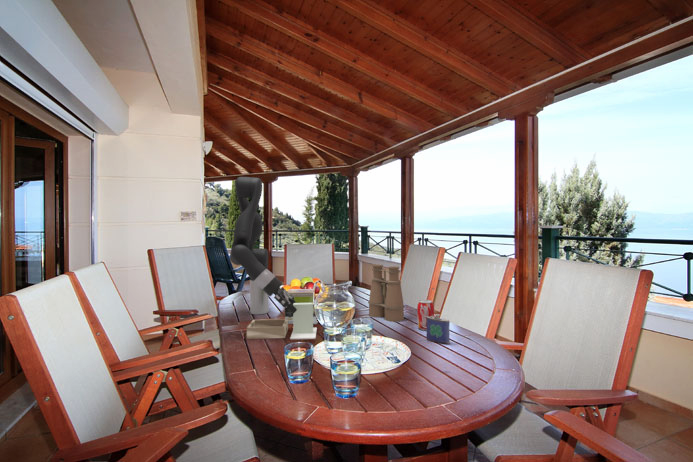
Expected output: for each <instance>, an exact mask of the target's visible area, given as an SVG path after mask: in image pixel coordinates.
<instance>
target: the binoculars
mask: <svg viewBox="0 0 693 462" xmlns="http://www.w3.org/2000/svg"><path fill="white" fill-rule="evenodd" d="M372 267H373V269H372V273H373V275H372V278H371V279H370V281H371V284H370V291H369V299H368V300H369V301H368V302H367V303H368V311H369V312H368V316H370V317H373V318H384V320H385V321H387V322H392V323H397V322H402V321H404V320H405V314H404V313H405V305H404V298H403V292H402V291H403V290H402V285H401V284H402V282H401V280H400V279H399V276H400V275H399V274H400V270H399V269H400V266H398V265H397V266H395V265H390V266H388V267H387V268H388V270H387V269H385V268H384V269H383V267H384V264H372ZM387 272H388V280H387V279H386V277H387Z"/></svg>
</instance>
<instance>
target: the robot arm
mask: <svg viewBox="0 0 693 462" xmlns="http://www.w3.org/2000/svg"><path fill="white" fill-rule="evenodd" d="M262 193H263V183H262V180H261V178H259V177H252V176H250V177H249V176H239V177H237V178H236V180H235V194H236V197H237V200H238V201H237V202H238V206H239V210H240V214H239V216H238V218H237V220H236V221H235V222H236V223H235V226H234V234H233V239H232V245H231V248H230V253H229V258H230V261H231V263H232V264H234V265H236V266H241V267H242V268H243V269H244V271H245V273H246V275H247V276H248V277H249V309H250V311H249V312H250V315H266V314H268V313H269V310H270V309H269V297H272V296H273V295H274V297H273V298H274V299H275V300H276V301H277V302H278V303H279V304H280V305H281V306H282V307H283V308H284V309H285V307H286V308H288V309H289V310H290V311H291V312H292V313H295V312H296V311H297V309H296V308H295V307H294V306H293V304H294V303H297V302H296V301H294V300H293V298H292V295H290V294H289V293H288V292H287V291H288V290H286V289H285V288H284V287H281V286H282V285H283V282H282V281H281V280H280V279H279V278H278V277H277V276H276V275H274V273H273V272H272V271H270V270H269V251H268V249H267V248H254V244H255V243H256V241H258V239H259V238H260V236H261V235H262V233H263V223H262V222H263V221H262V217H261V215H260V214H259V213H258V212H257V211H258V207H259V205H260V200H261V197H262ZM249 199H251V200H250V201H249Z"/></svg>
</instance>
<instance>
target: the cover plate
mask: <svg viewBox="0 0 693 462" xmlns="http://www.w3.org/2000/svg"><path fill="white" fill-rule="evenodd" d="M293 306H294V307H295V308H296V309H297V311H296V312H295V313H293V324H292V325H293V329H292V332H294V334H297V333H313V328H314V324H313V303H294V304H293Z"/></svg>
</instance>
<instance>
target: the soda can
mask: <svg viewBox="0 0 693 462" xmlns="http://www.w3.org/2000/svg"><path fill="white" fill-rule="evenodd" d="M416 312H417V314H416V315H417V318H416V319H417V327H418V328H419V329H420V330H421V331H426V332H427V317H430V316H432V317H433V316H434V317H435V306H434V303H433V300H430V299H420V300H418V303H417V311H416Z"/></svg>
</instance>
